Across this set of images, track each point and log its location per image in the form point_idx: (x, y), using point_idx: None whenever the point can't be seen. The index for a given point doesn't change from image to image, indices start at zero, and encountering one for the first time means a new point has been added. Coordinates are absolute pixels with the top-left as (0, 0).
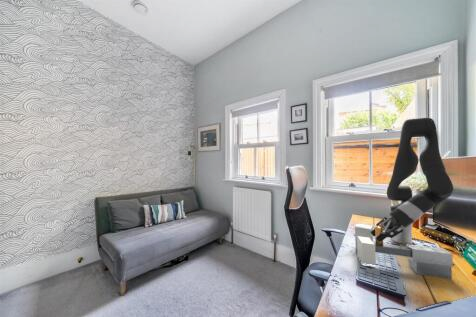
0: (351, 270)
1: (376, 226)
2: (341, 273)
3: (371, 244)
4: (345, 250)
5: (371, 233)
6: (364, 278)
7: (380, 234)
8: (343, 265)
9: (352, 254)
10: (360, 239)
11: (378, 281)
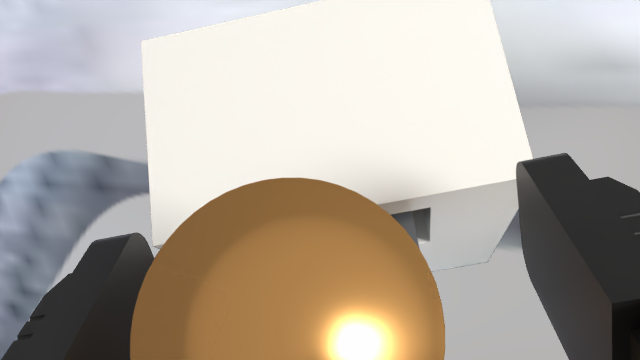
0: (118, 80)
1: (390, 241)
2: (35, 12)
3: (152, 186)
4: (590, 7)
5: (517, 180)
6: (22, 177)
7: (42, 337)
8: (183, 15)
9: (512, 81)
10: (308, 18)
11: (15, 285)
